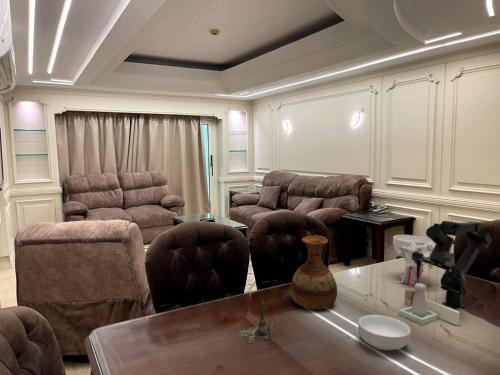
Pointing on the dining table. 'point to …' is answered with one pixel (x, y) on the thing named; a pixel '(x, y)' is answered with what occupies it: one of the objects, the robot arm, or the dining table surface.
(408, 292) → the gate post
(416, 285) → the salt shaker
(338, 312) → the dining table surface
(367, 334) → the cereal bowl
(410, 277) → the white irregular sculpture
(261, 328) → the eiffel tower figurine
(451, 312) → the gate
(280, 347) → the dining table surface
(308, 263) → the brown ceramic vase
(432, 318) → the tray
